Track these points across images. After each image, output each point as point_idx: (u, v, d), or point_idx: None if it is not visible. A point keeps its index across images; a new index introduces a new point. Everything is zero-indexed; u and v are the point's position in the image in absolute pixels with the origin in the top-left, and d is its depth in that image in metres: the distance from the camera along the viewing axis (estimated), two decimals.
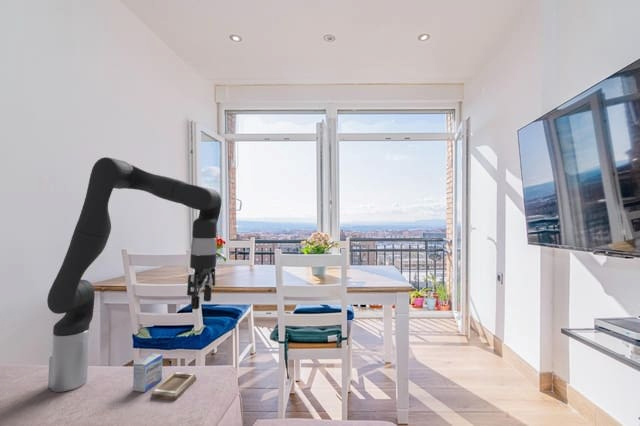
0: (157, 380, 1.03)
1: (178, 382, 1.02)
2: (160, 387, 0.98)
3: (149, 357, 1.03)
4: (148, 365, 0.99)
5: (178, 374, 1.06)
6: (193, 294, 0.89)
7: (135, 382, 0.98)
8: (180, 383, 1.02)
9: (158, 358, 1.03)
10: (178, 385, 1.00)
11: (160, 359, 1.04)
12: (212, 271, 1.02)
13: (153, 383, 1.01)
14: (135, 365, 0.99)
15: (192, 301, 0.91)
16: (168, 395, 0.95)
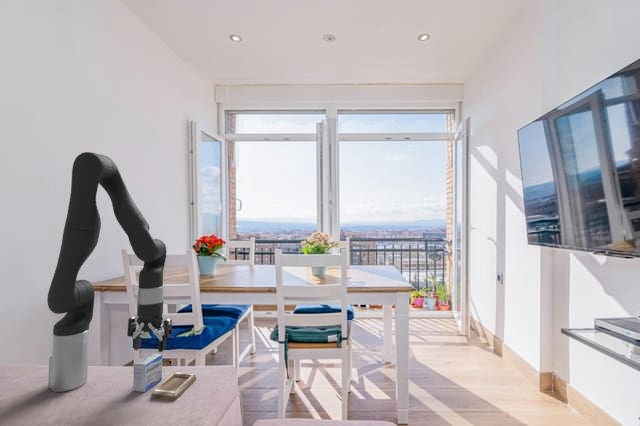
0: (157, 380, 1.03)
1: (178, 382, 1.02)
2: (160, 387, 0.98)
3: (149, 357, 1.03)
4: (148, 365, 0.99)
5: (178, 374, 1.06)
6: (171, 335, 1.02)
7: (135, 382, 0.98)
8: (180, 383, 1.02)
9: (158, 358, 1.03)
10: (178, 385, 1.00)
11: (160, 359, 1.04)
12: None
13: (153, 383, 1.01)
14: (135, 365, 0.99)
15: (163, 344, 1.01)
16: (168, 395, 0.95)
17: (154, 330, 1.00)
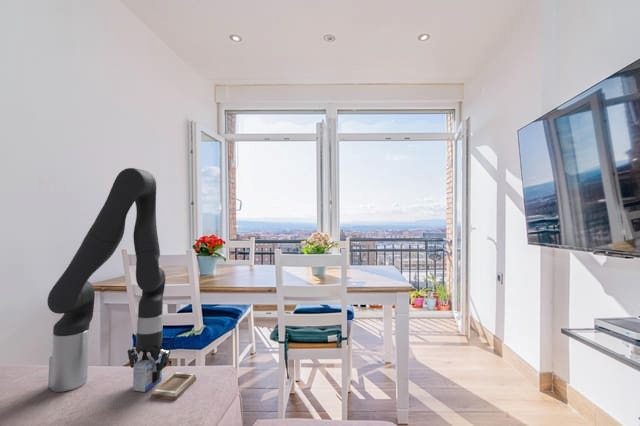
0: None
1: (178, 382, 1.02)
2: (160, 387, 0.98)
3: None
4: (148, 364, 0.99)
5: (178, 374, 1.06)
6: (165, 366, 1.02)
7: (135, 382, 0.98)
8: (180, 383, 1.02)
9: None
10: (178, 385, 1.00)
11: (160, 359, 1.04)
12: None
13: (153, 383, 1.01)
14: (135, 365, 0.99)
15: (157, 375, 1.01)
16: (168, 395, 0.95)
17: (151, 360, 1.00)
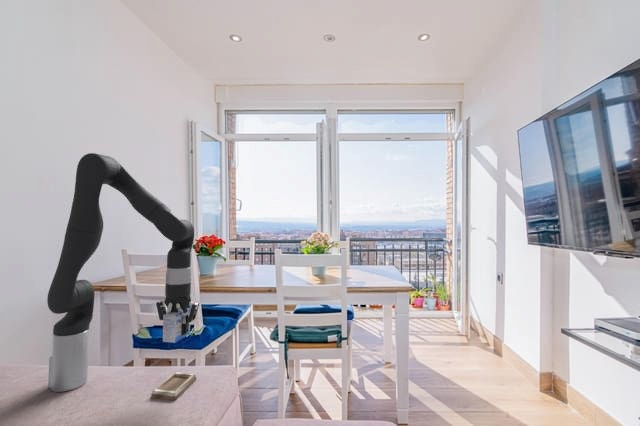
0: None
1: (178, 382, 1.02)
2: (160, 387, 0.98)
3: None
4: (178, 316, 0.98)
5: (178, 374, 1.06)
6: (194, 318, 1.01)
7: (165, 333, 0.97)
8: (180, 383, 1.02)
9: None
10: (178, 385, 1.00)
11: None
12: None
13: (182, 335, 1.00)
14: (165, 316, 0.97)
15: (186, 327, 1.00)
16: (168, 395, 0.95)
17: (180, 312, 0.99)
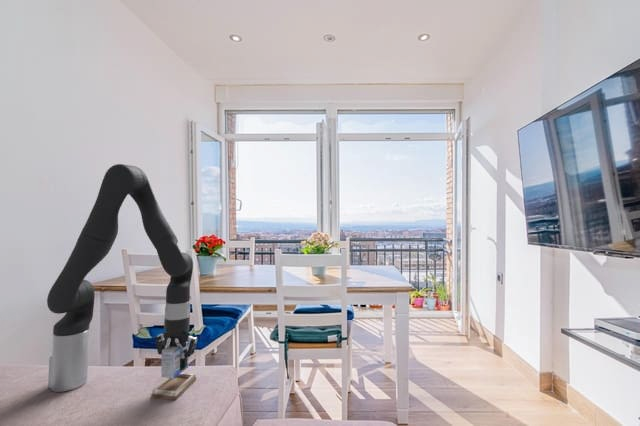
0: None
1: (178, 382, 1.02)
2: (160, 387, 0.98)
3: None
4: (176, 351, 0.98)
5: None
6: (192, 353, 1.01)
7: (163, 368, 0.97)
8: (180, 383, 1.02)
9: None
10: (178, 385, 1.00)
11: None
12: None
13: (181, 370, 1.00)
14: (163, 351, 0.97)
15: (185, 362, 1.00)
16: (168, 395, 0.95)
17: (179, 347, 0.99)
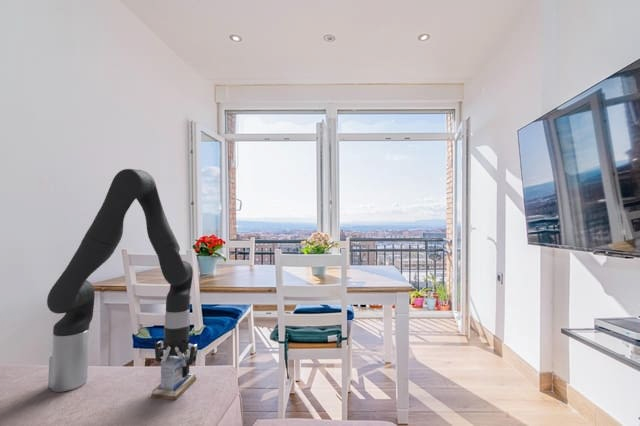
0: (183, 379, 1.02)
1: None
2: (160, 387, 0.98)
3: (175, 356, 1.02)
4: (176, 364, 0.98)
5: None
6: (194, 360, 1.01)
7: (163, 381, 0.97)
8: None
9: None
10: None
11: None
12: None
13: (180, 382, 1.00)
14: (163, 364, 0.97)
15: (187, 369, 1.00)
16: (168, 395, 0.95)
17: (180, 355, 0.99)
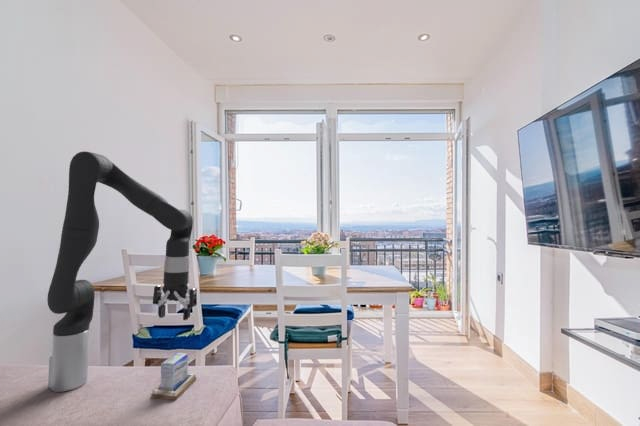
0: (183, 379, 1.02)
1: None
2: (160, 387, 0.98)
3: (175, 356, 1.02)
4: (176, 364, 0.98)
5: None
6: (195, 304, 1.03)
7: (163, 381, 0.97)
8: None
9: (184, 357, 1.02)
10: None
11: (186, 358, 1.03)
12: None
13: (180, 382, 1.00)
14: (163, 364, 0.97)
15: (188, 312, 1.02)
16: (168, 395, 0.95)
17: (179, 298, 1.02)
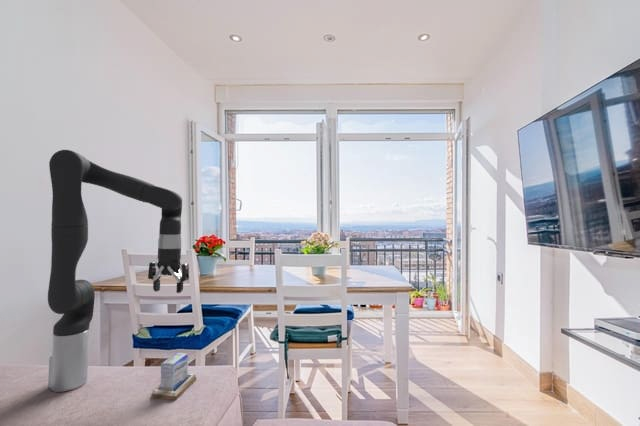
0: (183, 379, 1.02)
1: None
2: (160, 387, 0.98)
3: (175, 356, 1.02)
4: (176, 364, 0.98)
5: None
6: (187, 278, 1.12)
7: (163, 381, 0.97)
8: None
9: (184, 357, 1.02)
10: None
11: (186, 358, 1.03)
12: None
13: (180, 382, 1.00)
14: (163, 364, 0.97)
15: (181, 286, 1.11)
16: (168, 395, 0.95)
17: (173, 273, 1.10)
